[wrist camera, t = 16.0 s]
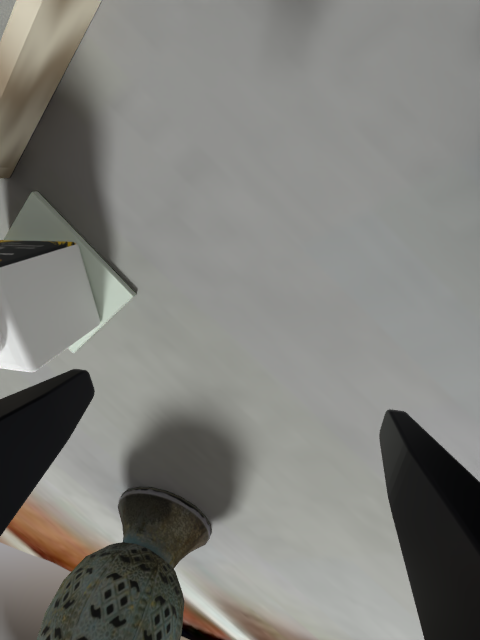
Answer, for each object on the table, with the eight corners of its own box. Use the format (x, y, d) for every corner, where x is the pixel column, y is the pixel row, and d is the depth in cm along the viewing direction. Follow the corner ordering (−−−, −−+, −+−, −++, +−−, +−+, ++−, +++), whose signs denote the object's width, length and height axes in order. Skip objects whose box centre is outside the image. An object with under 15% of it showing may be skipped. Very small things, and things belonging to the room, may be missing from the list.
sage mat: (37, 191, 20) (31, 191, 20) (136, 294, 23) (133, 296, 22) (-11, 271, 25) (-16, 272, 24) (77, 350, 27) (73, 353, 27)
